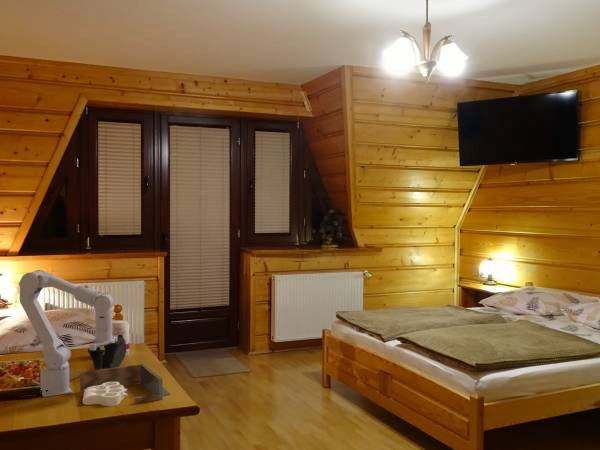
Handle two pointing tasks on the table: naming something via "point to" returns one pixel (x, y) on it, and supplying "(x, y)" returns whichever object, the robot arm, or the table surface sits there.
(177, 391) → the table surface
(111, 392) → the white multi-hole holder
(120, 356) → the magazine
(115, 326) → the supplement can
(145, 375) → the bookend
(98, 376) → the shelf wall
